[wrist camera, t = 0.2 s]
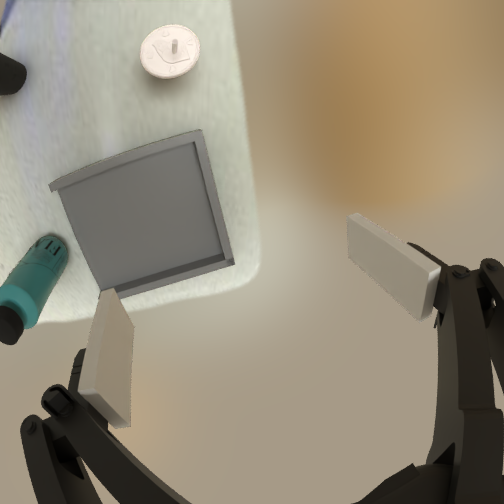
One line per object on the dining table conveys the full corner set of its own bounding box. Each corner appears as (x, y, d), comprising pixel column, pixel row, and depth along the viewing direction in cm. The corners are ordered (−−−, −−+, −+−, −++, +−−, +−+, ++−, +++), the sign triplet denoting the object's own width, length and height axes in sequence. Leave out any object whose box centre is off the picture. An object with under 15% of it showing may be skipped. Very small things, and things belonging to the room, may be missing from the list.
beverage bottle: (74, 235, 38) (24, 316, 21) (70, 273, 40) (30, 362, 23) (38, 226, 36) (-25, 298, 18) (36, 263, 38) (-15, 345, 20)
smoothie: (178, 95, 34) (181, 82, 22) (137, 76, 31) (120, 55, 19) (202, 57, 32) (218, 27, 20) (162, 38, 30) (159, 0, 18)
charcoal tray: (55, 179, 34) (48, 184, 31) (199, 129, 37) (201, 129, 34) (104, 294, 43) (101, 304, 41) (231, 255, 46) (235, 264, 44)
